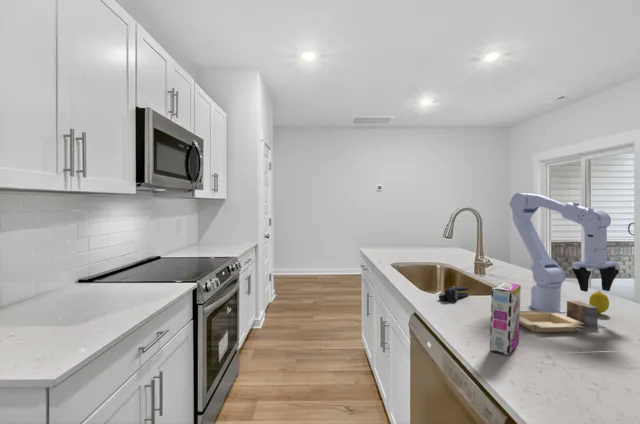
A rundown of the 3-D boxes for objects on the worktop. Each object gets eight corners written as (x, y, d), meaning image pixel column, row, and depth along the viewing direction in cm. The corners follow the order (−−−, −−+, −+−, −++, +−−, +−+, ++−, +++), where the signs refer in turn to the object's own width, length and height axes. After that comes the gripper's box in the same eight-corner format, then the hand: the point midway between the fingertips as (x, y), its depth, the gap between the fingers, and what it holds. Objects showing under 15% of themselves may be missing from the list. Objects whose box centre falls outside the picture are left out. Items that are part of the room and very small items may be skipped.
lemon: (600, 316, 126) (601, 293, 126) (585, 312, 131) (585, 289, 131) (612, 315, 127) (613, 292, 127) (597, 311, 133) (597, 288, 133)
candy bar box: (510, 356, 92) (511, 291, 92) (489, 351, 95) (490, 288, 95) (520, 343, 101) (521, 284, 100) (500, 339, 104) (501, 281, 104)
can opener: (452, 304, 141) (452, 290, 141) (436, 300, 146) (436, 286, 146) (475, 297, 152) (476, 284, 152) (460, 294, 158) (460, 281, 158)
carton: (501, 319, 123) (501, 311, 122) (552, 318, 124) (552, 310, 124) (532, 336, 107) (533, 327, 107) (591, 334, 108) (591, 326, 108)
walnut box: (566, 319, 122) (567, 300, 122) (577, 318, 122) (577, 300, 122) (585, 327, 114) (586, 307, 114) (597, 326, 114) (597, 307, 114)
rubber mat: (558, 319, 123) (558, 318, 123) (580, 318, 123) (580, 317, 123) (582, 329, 113) (582, 328, 113) (606, 328, 113) (606, 327, 113)
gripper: (584, 250, 114) (583, 294, 114) (627, 249, 116) (627, 293, 116) (567, 247, 121) (566, 289, 121) (608, 247, 123) (607, 288, 123)
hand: (595, 290), depth 119 cm, fingers open, 7 cm apart
